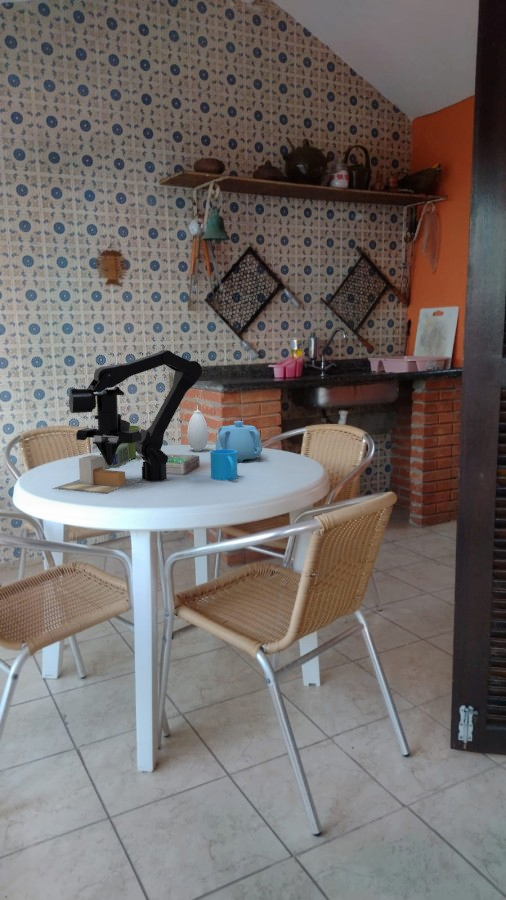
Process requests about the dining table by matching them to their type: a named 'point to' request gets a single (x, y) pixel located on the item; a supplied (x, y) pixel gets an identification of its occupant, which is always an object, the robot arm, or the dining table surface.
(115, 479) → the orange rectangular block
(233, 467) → the mug
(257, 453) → the decorative pot
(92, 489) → the pad
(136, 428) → the plant pot
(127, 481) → the board
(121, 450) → the handheld radio
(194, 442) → the white air blower
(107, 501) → the dining table surface
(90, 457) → the block
